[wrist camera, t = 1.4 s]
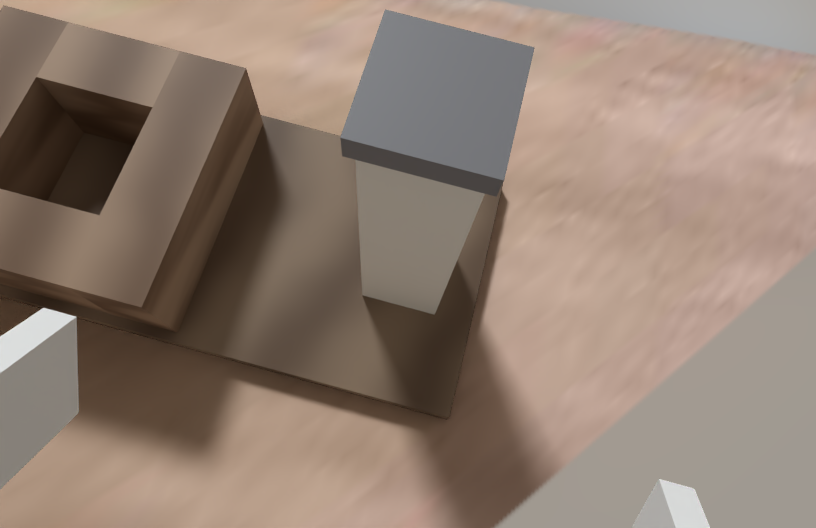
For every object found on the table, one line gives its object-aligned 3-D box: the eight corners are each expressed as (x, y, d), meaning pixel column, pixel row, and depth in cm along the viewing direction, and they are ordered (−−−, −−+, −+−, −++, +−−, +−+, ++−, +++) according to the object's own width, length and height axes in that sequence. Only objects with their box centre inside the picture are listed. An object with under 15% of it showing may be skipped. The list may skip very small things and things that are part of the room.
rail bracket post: (355, 298, 31) (340, 137, 16) (378, 222, 32) (385, 9, 17) (438, 321, 31) (504, 180, 16) (458, 243, 32) (534, 47, 17)
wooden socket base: (-79, 274, 31) (-180, 231, 25) (42, 66, 36) (-20, -9, 30) (446, 419, 30) (464, 408, 24) (500, 186, 35) (525, 132, 29)
